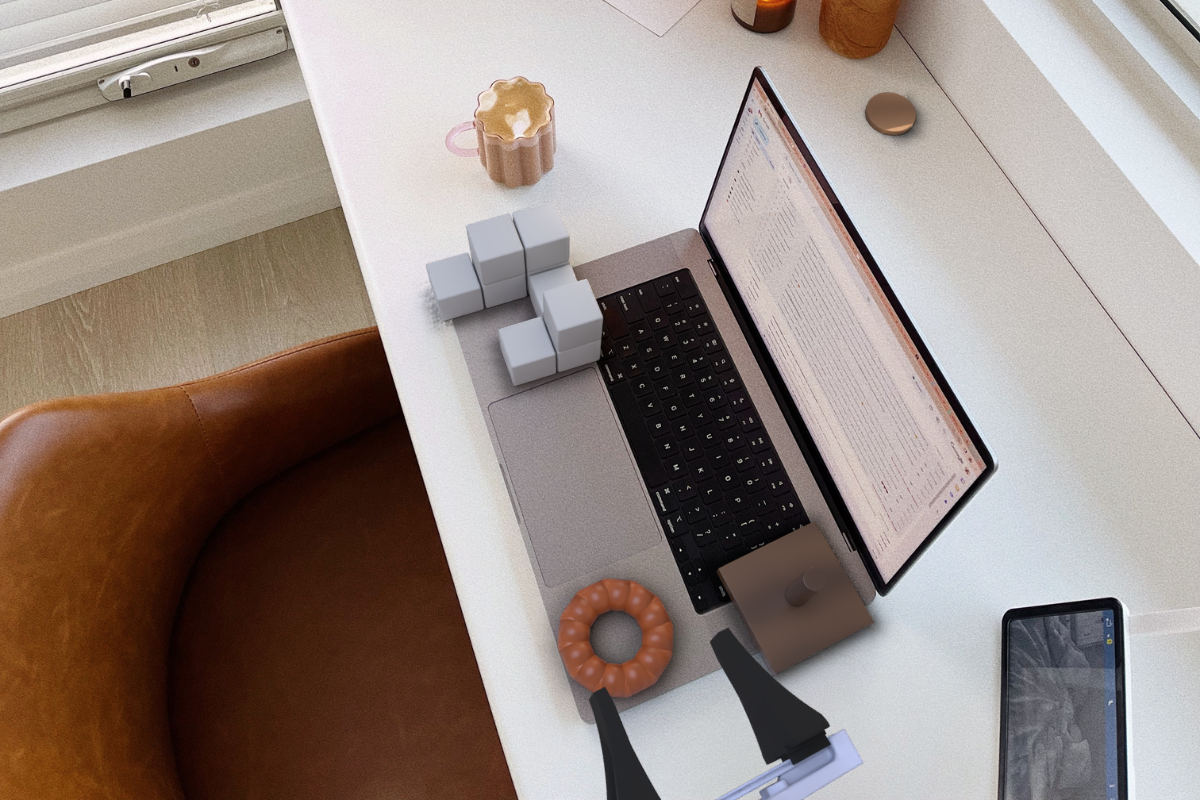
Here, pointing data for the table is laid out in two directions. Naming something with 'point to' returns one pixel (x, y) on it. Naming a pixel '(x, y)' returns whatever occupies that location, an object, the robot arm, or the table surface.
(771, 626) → the peg stand
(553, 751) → the table surface
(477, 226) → the puzzle cube
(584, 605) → the ring
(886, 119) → the coaster
